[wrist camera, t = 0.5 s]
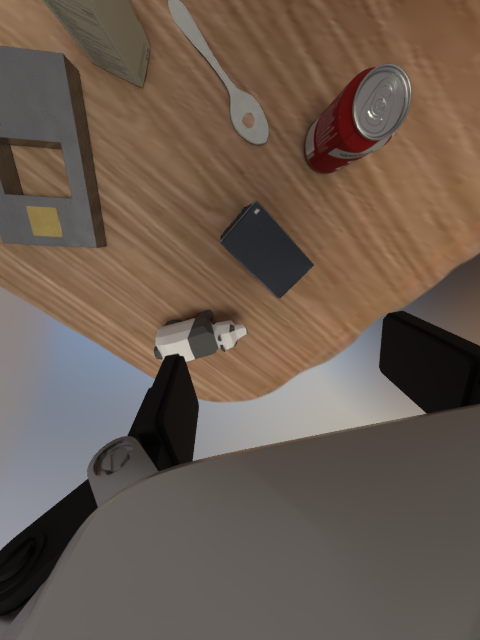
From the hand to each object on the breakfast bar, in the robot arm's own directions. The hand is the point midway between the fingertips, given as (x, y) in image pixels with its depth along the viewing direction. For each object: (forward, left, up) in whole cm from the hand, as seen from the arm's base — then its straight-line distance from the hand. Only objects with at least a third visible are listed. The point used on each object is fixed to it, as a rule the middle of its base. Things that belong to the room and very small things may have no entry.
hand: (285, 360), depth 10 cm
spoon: (-24, -4, -30) cm, 38 cm away
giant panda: (+11, -6, -29) cm, 32 cm away
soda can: (-17, +12, -29) cm, 36 cm away
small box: (-3, +3, -29) cm, 29 cm away
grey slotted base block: (-12, -26, -29) cm, 41 cm away
